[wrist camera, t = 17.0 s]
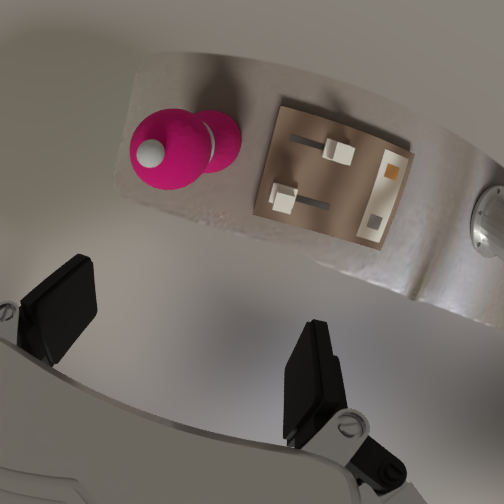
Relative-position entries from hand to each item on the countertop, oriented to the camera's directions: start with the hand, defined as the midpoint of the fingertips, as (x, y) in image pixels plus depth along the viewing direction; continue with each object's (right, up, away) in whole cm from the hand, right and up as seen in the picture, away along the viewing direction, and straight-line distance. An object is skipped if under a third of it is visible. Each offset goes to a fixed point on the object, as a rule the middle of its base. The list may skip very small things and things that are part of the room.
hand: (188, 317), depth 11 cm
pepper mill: (-2, +17, +22) cm, 28 cm away
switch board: (+13, +12, +22) cm, 28 cm away
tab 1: (+6, +10, +22) cm, 25 cm away
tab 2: (+12, +15, +19) cm, 27 cm away
